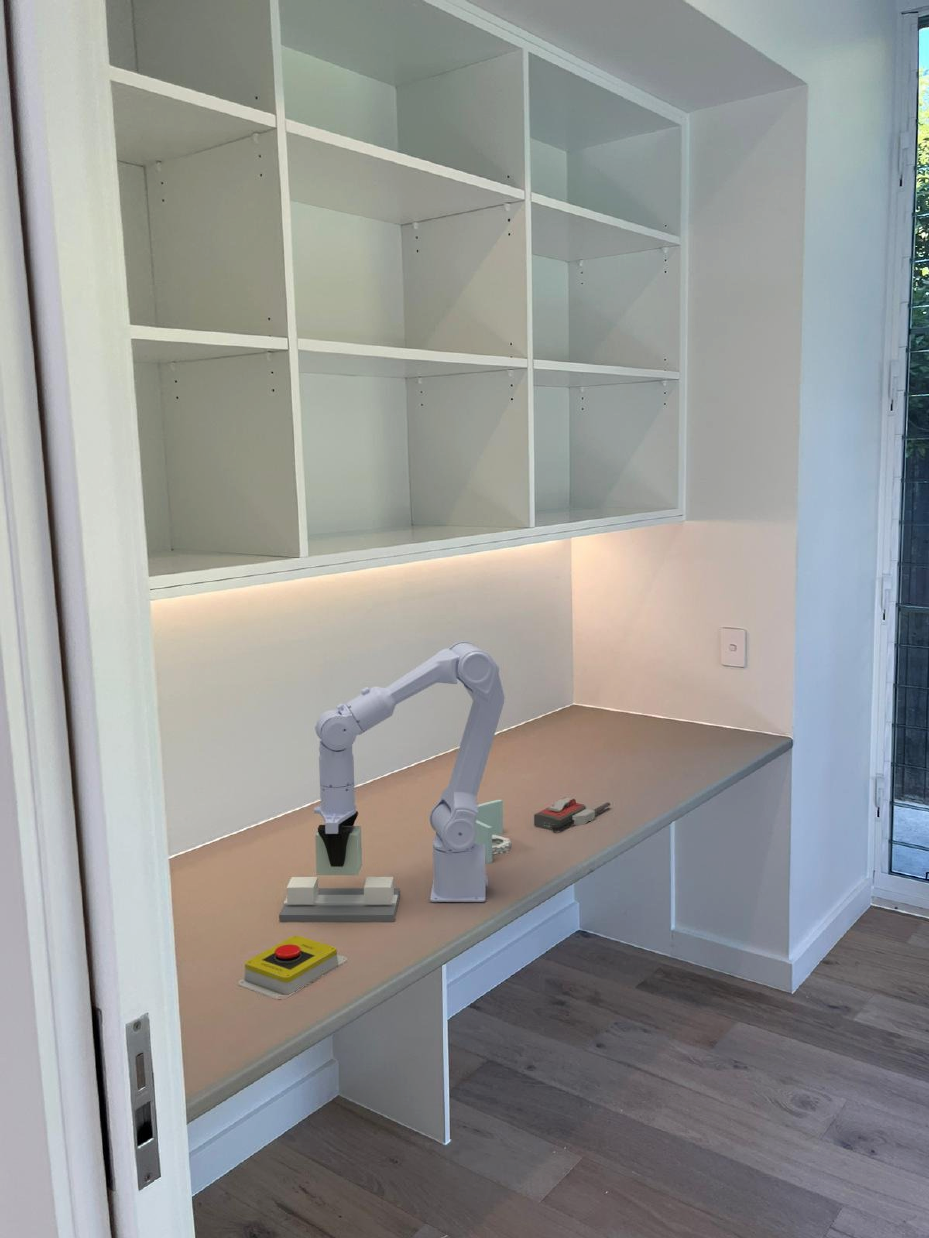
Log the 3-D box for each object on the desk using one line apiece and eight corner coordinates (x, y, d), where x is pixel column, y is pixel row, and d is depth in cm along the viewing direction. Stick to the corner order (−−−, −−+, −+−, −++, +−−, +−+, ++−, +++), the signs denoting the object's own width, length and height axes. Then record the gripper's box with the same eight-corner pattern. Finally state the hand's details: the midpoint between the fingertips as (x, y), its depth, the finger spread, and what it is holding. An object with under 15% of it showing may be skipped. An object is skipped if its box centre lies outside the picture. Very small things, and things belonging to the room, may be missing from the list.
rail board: (400, 894, 185) (399, 869, 185) (393, 921, 174) (393, 895, 174) (292, 894, 186) (291, 869, 185) (279, 921, 175) (278, 895, 174)
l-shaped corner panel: (488, 866, 199) (488, 828, 198) (451, 847, 209) (451, 811, 208) (537, 851, 206) (537, 814, 205) (499, 834, 216) (499, 799, 215)
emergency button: (233, 959, 154) (303, 921, 166) (234, 987, 154) (304, 947, 167) (280, 975, 149) (349, 935, 161) (281, 1004, 149) (350, 962, 162)
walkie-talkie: (564, 837, 213) (613, 810, 229) (564, 816, 212) (613, 791, 228) (528, 829, 218) (578, 803, 234) (528, 808, 218) (578, 784, 233)
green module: (362, 865, 181) (360, 825, 180) (358, 875, 177) (356, 834, 176) (321, 864, 182) (320, 824, 181) (316, 875, 177) (315, 834, 176)
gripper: (320, 769, 184) (323, 844, 186) (305, 796, 170) (308, 876, 172) (360, 769, 184) (363, 844, 186) (349, 796, 170) (351, 876, 172)
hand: (339, 860), depth 179 cm, fingers closed on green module, 4 cm apart
